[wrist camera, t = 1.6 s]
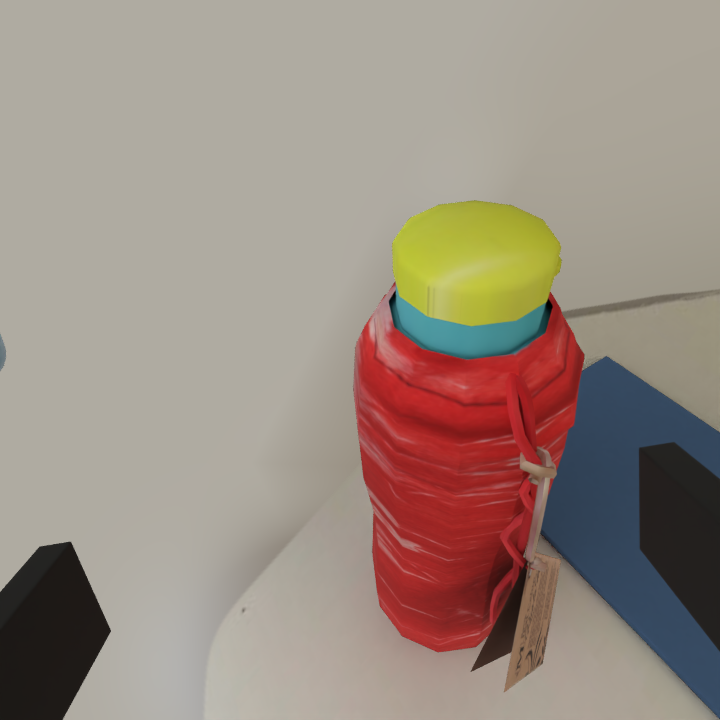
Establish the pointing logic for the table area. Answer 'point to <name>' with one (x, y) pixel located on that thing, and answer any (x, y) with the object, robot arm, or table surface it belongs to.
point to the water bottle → (467, 429)
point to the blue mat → (628, 513)
